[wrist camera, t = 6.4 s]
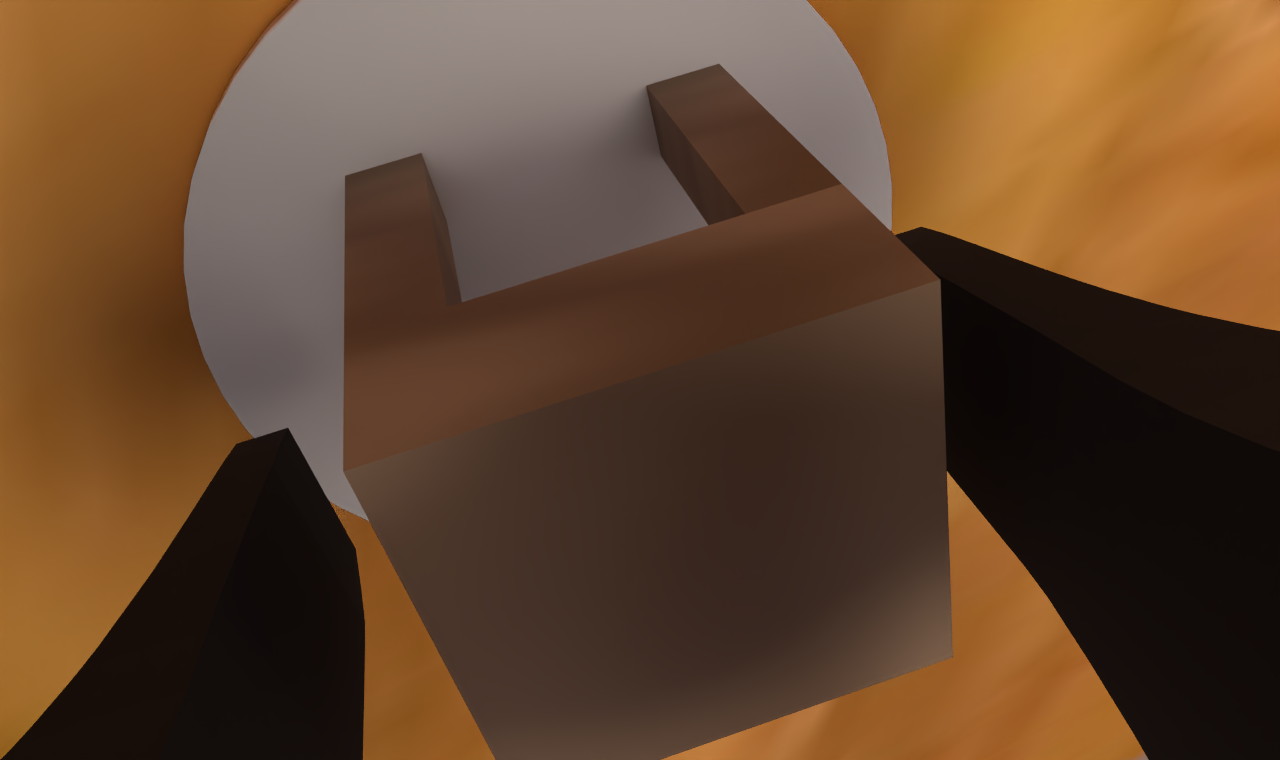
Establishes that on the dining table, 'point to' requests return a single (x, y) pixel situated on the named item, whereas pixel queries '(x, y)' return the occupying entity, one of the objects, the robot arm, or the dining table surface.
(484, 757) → the dining table surface
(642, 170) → the plate
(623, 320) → the stool
